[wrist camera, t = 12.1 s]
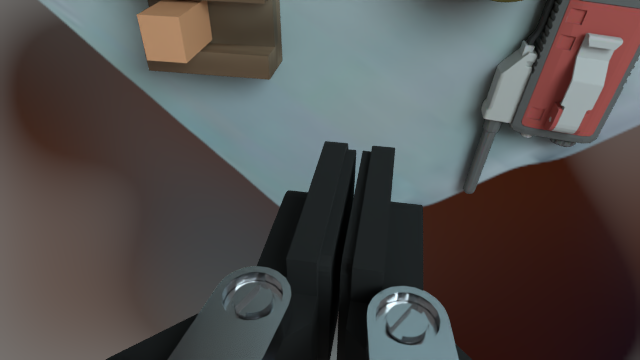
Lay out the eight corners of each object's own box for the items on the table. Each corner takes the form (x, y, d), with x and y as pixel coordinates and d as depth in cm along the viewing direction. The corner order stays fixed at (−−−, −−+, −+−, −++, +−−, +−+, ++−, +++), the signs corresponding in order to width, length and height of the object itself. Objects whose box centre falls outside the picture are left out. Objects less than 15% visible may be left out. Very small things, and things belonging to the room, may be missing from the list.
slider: (169, -5, 35) (136, 14, 31) (206, -3, 35) (178, 16, 31) (176, 37, 37) (147, 60, 33) (212, 39, 36) (186, 63, 32)
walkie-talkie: (533, -53, 31) (454, 181, 43) (547, -41, 28) (457, 211, 40) (668, -35, 30) (550, 198, 42) (701, -20, 27) (562, 230, 39)
